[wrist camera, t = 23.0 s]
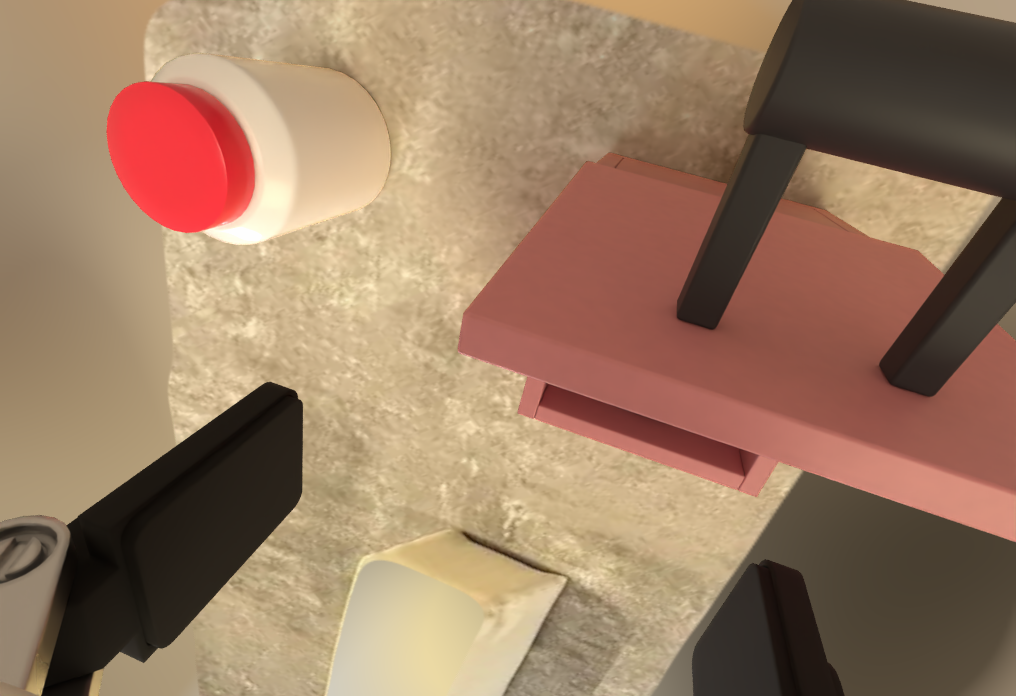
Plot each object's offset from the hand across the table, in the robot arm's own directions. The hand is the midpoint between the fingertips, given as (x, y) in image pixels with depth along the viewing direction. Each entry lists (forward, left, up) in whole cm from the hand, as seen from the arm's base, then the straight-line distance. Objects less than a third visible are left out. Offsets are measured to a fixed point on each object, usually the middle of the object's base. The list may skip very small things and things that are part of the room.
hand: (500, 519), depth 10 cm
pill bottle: (-10, -14, -20) cm, 26 cm away
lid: (-2, +6, -5) cm, 8 cm away
